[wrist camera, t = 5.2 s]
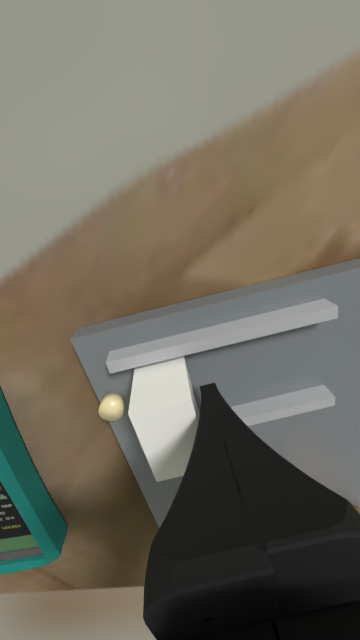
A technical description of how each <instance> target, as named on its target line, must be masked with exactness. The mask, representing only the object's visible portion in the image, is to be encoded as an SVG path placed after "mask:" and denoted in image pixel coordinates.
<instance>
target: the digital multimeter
mask: <svg viewBox="0 0 360 640" xmlns="http://www.w3.org/2000/svg"><path fill="white" fill-rule="evenodd" d="M8 494H9V495H8ZM66 532H67V525H66V523H65V521H64V519H63V517H62V516H61V514H60V512H59V510H58V509H57V507H56V505H55V504H54V502H53V500H52V498H51V497H50V495H49V493H48V492H47V490H46V488H45V486H44V484H43V482H42V480H41V478H40V476H39V474H38V472H37V470H36V468H35V466H34V464H33V462H32V460H31V458H30V456H29V454H28V452H27V449H26V447H25V445H24V443H23V440H22V438H21V436H20V434H19V431H18V429H17V427H16V425H15V423H14V421H13V418H12V416H11V414H10V411H9V409H8V406H7V404H6V401H5V399H4V396H3V394H2V391H1V389H0V574H3V573H10V572H15V571H20V570H25V569H30V568H35V567H39V566H44V565H46V564H48V563H50V562H52V561H53V560H55V559H57V558H58V557H59V556H60V554H61V550H62V546H63V543H64V539H65V536H66Z"/></svg>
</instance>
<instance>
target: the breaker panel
mask: <svg viewBox="0 0 360 640" xmlns="http://www.w3.org/2000/svg"><path fill="white" fill-rule="evenodd" d="M70 340H71V342H72V344H73V347H74V349H75V351H76V353H77V355H78V357H79V359H80V361H81V364H82V366H83V368H84V370H85V372H86V374H87V376H88V378H89V381H90V383H91V385H92V387H93V389H94V391H95V393H96V395H97V398H98V400H99V402H100V407H99V411H98V412H99V415H100V417H101V418H103V419H104V420H107V421H109V423H110V425H111V427H112V429H113V432H114V434H115V436H116V438H117V440H118V442H119V444H120V446H121V449H122V451H123V453H124V455H125V457H126V459H127V461H128V463H129V466H130V468H131V470H132V472H133V474H134V476H135V478H136V480H137V482H138V485H139V487H140V489H141V491H142V493H143V495H144V497H145V499H146V502H147V504H148V506H149V508H150V510H151V512H152V514H153V516H154V519H155V521H156V523H157V525H158V527H159V528H160V527H161V525H162V523H163V521H164V519H165V517H166V515H167V513H168V511H169V509H170V507H171V504H172V502H173V500H174V498H175V495H176V493H177V491H178V489H179V486H180V484H181V481H182V479H183V476H180V477H176V478H171V479H167V480H163V481H159V482H156V479H155V477H154V474H153V472H152V470H151V467H150V465H149V463H148V460H147V458H146V455H145V453H144V451H143V448H142V446H141V444H140V441H139V439H138V436H137V434H136V432H135V429H134V427H133V425H132V422H131V420H130V417H129V415H128V411H129V404H130V397H131V390H132V382H133V375H134V368H136V367H140V366H144V365H148V364H152V363H156V362H160V361H164V360H168V359H173V358H177V357H181V356H184V358H185V362H186V366H187V369H188V373H189V377H190V381H191V384H192V388H193V392H194V396H195V400H196V403H197V407H198V411H199V414H200V406H201V391H200V386H203V385H207V384H211V383H215V384H216V386H217V389H218V391H219V392H220V394H221V395H222V397H223V398H224V399H225V401H226V402H227V403H228V405H229V406H230V407H231V408H232V410H233V411H234V412H235V413H236V414H237V415H238V416H239V418H240V419H241V420H242V421H243V422H244V423H245V424H246V425H247V426H248V427H249V428H250V429H251V430H252V431H253V432H254V433H255V434H256V435H257V436H258V437H259V438H260V439H262V440H263V441H264V442H265V443H266V444H267V445H268V446H270V447H271V448H272V449H273V450H274V451H276V452H277V453H278V454H279V455H281V456H282V457H283V458H285V459H286V460H287V461H289V462H290V463H292V464H293V465H294V466H296V467H297V468H298V469H300V470H301V471H302V472H304V473H305V474H307V475H308V476H310V477H311V478H313V479H314V480H316V481H317V482H319V483H321V484H322V485H324V486H325V487H327V488H329V489H330V490H332V491H334V492H335V493H337V494H339V495H340V496H342V497H344V498H345V499H347V500H348V501H349V502H350V503H351V504H354V505H356V506H358V507H359V508H360V258H358V259H354V260H350V261H346V262H342V263H338V264H334V265H330V266H326V267H322V268H318V269H314V270H310V271H306V272H302V273H298V274H293V275H289V276H285V277H281V278H277V279H273V280H269V281H265V282H261V283H257V284H253V285H249V286H245V287H241V288H237V289H233V290H229V291H225V292H221V293H217V294H213V295H209V296H205V297H201V298H197V299H192V300H188V301H184V302H180V303H176V304H172V305H168V306H164V307H160V308H156V309H152V310H148V311H144V312H140V313H136V314H132V315H128V316H124V317H120V318H116V319H112V320H108V321H104V322H100V323H96V324H91V325H87V326H83V327H79V328H77V329H76V331H75V332H74V334H73V335H72V337H71V338H70Z"/></svg>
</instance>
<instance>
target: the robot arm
mask: <svg viewBox="0 0 360 640" xmlns="http://www.w3.org/2000/svg"><path fill="white" fill-rule="evenodd" d="M200 391H201V406H200V414H199V421H198V427H197V431H196V436H195V441H194V445H193V448H192V452H191V455H190V458H189V462H188V465H187V467H186V470H185V473H184V476H183V479H182V481H181V484H180V486H179V489H178V491H177V493H176V495H175V498H174V500H173V502H172V504H171V507H170V509H169V511H168V513H167V515H166V517H165V519H164V521H163V523H162V525H161V527H160V528H159V530H158V532H157V534H156V536H155V538H154V540H153V542H152V545H151V549H150V554H149V558H148V564H147V570H146V577H145V586H144V611H143V612H144V613H143V618H144V621H145V624H146V625H147V627H148V628H149V629H150V631H151V632H152V634H153V635H154V637H155V638H156V639H157V640H360V514H359V512H358V511H357V510H356V509H355V508H354V507H353V506H352V504H351V503H350V502H349V501H348V500H347V499H345V498H344V497H342V496H340V495H339V494H337V493H335V492H334V491H332V490H330V489H329V488H327V487H325V486H324V485H322V484H321V483H319V482H317V481H316V480H314V479H313V478H311V477H310V476H308V475H307V474H305V473H304V472H302V471H301V470H300V469H298V468H297V467H296V466H294V465H293V464H292V463H290V462H289V461H287V460H286V459H285V458H283V457H282V456H281V455H279V454H278V453H277V452H276V451H274V450H273V449H272V448H271V447H270V446H268V445H267V444H266V443H265V442H264V441H263V440H262V439H260V438H259V437H258V436H257V435H256V434H255V433H254V432H253V431H252V430H251V429H250V428H249V427H248V426H247V425H246V424H245V423H244V422H243V421H242V420H241V419H240V418H239V416H238V415H237V414H236V413H235V412H234V411H233V410H232V408H231V407H230V406H229V405H228V403H227V402H226V401H225V399H224V398H223V397H222V395H221V394H220V392H219V391H218V389H217V386H216V384H215V383H211V384H207V385H203V386H200Z"/></svg>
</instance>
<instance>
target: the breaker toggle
mask: <svg viewBox="0 0 360 640" xmlns="http://www.w3.org/2000/svg"><path fill="white" fill-rule="evenodd" d="M128 415H129V417H130V420H131V422H132V425H133V427H134V429H135V432H136V434H137V436H138V439H139V441H140V444H141V446H142V448H143V451H144V453H145V455H146V458H147V460H148V463H149V465H150V467H151V470H152V472H153V474H154V477H155V479H156V482H159V481H163V480H167V479H171V478H176V477H180V476H184V473H185V470H186V467H187V465H188V462H189V458H190V455H191V452H192V448H193V445H194V441H195V436H196V431H197V427H198V421H199V411H198V407H197V403H196V400H195V396H194V392H193V388H192V384H191V381H190V377H189V373H188V369H187V366H186V362H185V358H184V356H181V357H177V358H173V359H168V360H164V361H160V362H156V363H152V364H148V365H144V366H140V367H136V368H134V375H133V382H132V390H131V397H130V404H129V411H128Z"/></svg>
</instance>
